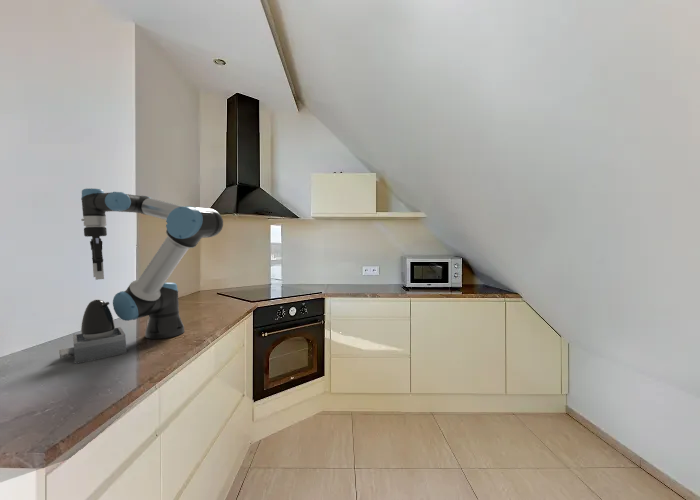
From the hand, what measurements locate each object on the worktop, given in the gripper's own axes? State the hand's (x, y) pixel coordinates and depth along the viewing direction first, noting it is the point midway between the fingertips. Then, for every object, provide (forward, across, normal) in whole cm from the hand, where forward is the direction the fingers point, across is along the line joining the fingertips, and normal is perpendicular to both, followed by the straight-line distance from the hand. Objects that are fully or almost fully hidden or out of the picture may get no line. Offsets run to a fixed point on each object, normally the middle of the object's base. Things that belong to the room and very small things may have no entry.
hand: (98, 278), depth 143 cm
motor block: (+27, +18, -4) cm, 32 cm away
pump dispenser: (+22, +18, -2) cm, 28 cm away
